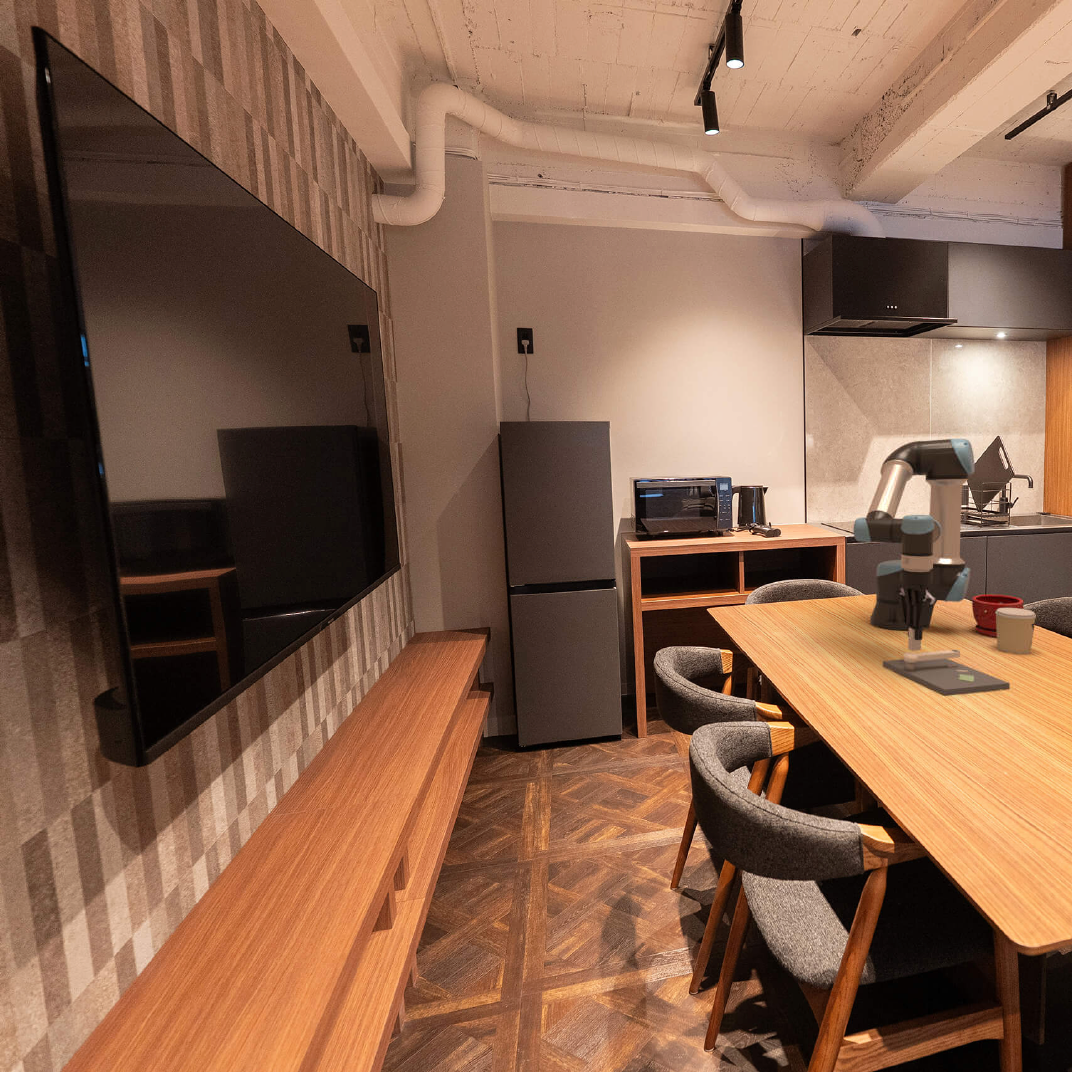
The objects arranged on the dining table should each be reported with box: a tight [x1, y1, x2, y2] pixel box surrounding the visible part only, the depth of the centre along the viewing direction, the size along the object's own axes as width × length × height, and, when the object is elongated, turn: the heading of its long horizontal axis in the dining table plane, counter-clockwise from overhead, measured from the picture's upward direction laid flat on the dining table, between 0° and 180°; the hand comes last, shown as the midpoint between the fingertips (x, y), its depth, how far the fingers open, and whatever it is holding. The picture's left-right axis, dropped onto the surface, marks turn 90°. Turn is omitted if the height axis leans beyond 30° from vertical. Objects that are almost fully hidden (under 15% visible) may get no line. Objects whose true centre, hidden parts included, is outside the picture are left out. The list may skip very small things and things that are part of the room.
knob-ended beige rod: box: [903, 649, 961, 663], centre depth 158 cm, size 16×3×2 cm, turn 96°
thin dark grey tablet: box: [882, 658, 1011, 696], centre depth 156 cm, size 22×18×4 cm
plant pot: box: [971, 594, 1024, 638], centre depth 188 cm, size 13×13×12 cm
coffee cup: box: [995, 608, 1037, 655], centre depth 173 cm, size 9×9×12 cm
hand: (914, 649), depth 165 cm, fingers closed
